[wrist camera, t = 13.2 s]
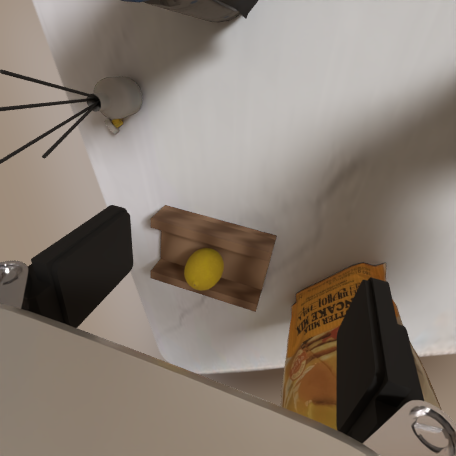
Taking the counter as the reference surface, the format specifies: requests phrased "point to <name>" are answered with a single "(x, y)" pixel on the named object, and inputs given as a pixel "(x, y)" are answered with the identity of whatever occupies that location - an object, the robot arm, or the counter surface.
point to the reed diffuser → (90, 105)
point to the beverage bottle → (206, 8)
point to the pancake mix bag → (327, 344)
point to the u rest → (221, 242)
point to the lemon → (204, 269)
